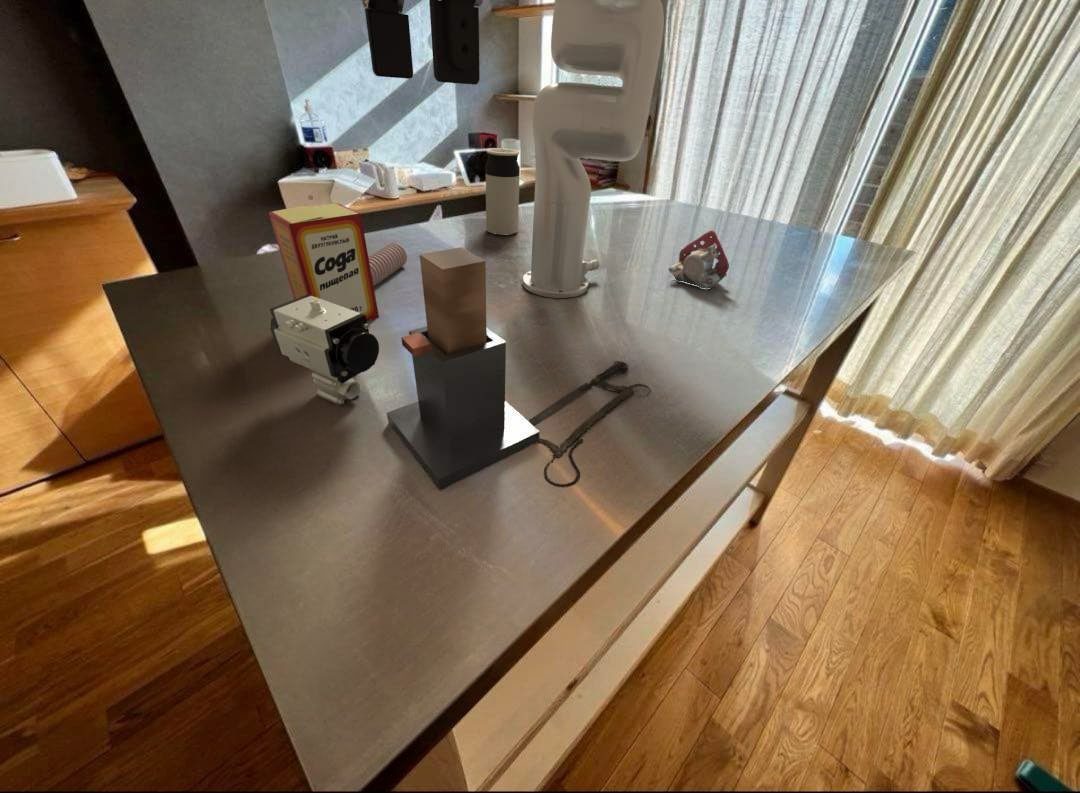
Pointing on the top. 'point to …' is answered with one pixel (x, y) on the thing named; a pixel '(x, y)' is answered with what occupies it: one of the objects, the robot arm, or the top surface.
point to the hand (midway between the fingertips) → (422, 79)
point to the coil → (386, 261)
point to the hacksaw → (587, 425)
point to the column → (454, 299)
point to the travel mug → (502, 191)
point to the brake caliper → (701, 262)
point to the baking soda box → (326, 255)
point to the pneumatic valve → (325, 344)
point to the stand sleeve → (459, 410)
